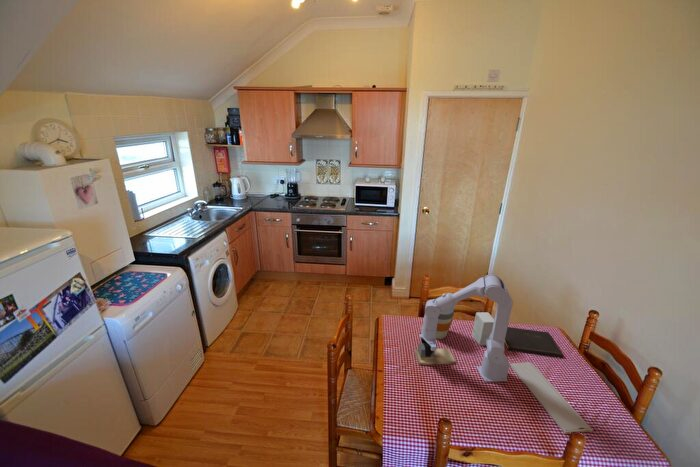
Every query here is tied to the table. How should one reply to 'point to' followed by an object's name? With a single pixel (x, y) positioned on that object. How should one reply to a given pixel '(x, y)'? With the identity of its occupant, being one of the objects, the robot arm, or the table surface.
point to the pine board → (437, 357)
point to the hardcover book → (531, 342)
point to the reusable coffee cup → (444, 323)
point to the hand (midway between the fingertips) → (426, 352)
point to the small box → (482, 327)
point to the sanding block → (423, 352)
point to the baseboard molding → (550, 399)
